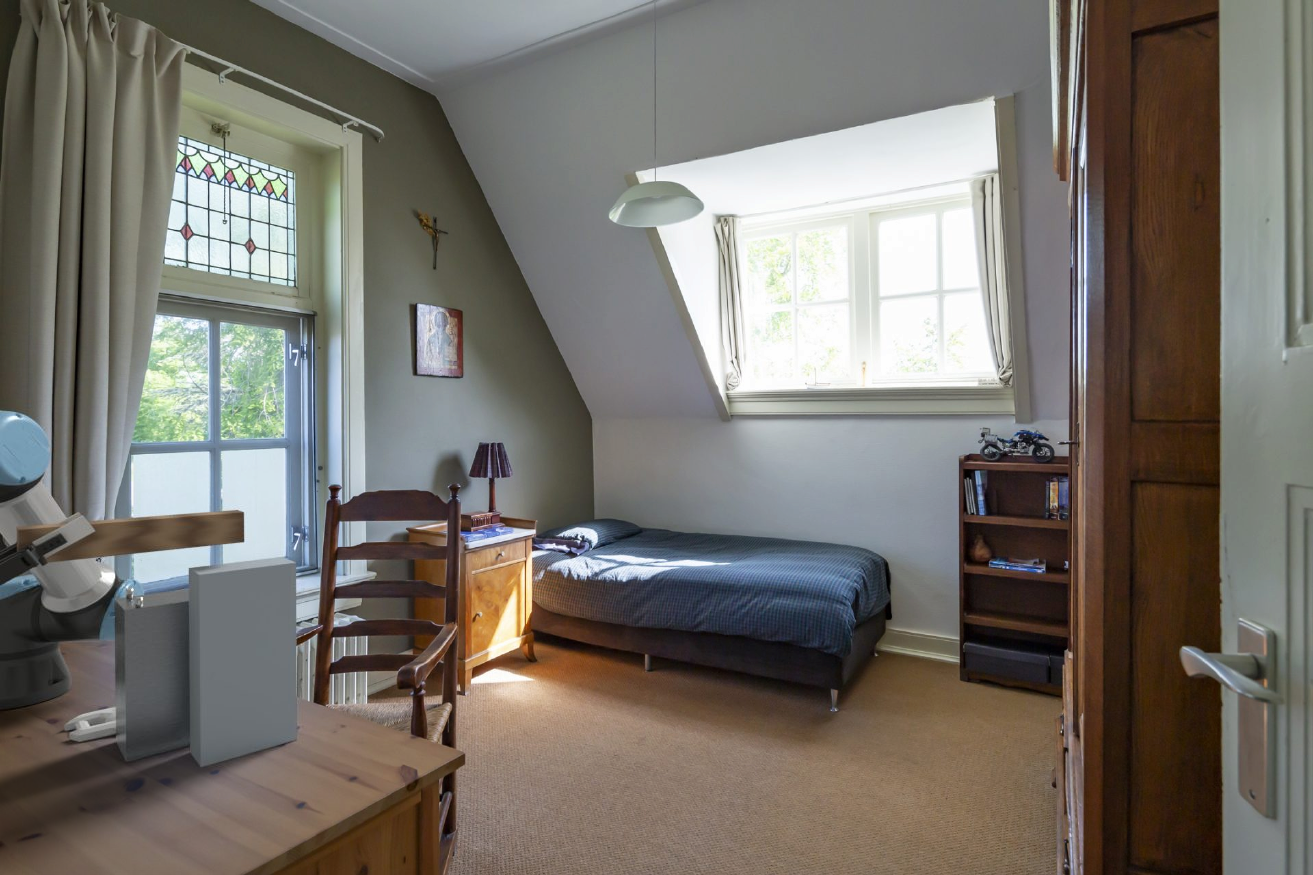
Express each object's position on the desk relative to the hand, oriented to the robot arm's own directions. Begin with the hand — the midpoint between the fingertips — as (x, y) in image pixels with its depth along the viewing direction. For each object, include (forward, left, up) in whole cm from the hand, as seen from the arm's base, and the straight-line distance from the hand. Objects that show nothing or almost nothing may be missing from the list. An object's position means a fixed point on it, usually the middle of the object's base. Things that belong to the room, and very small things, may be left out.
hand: (86, 521), depth 106 cm
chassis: (-8, +13, -39) cm, 42 cm away
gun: (-20, +8, -39) cm, 45 cm away
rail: (0, +6, -5) cm, 8 cm away
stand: (+3, +20, -39) cm, 44 cm away
